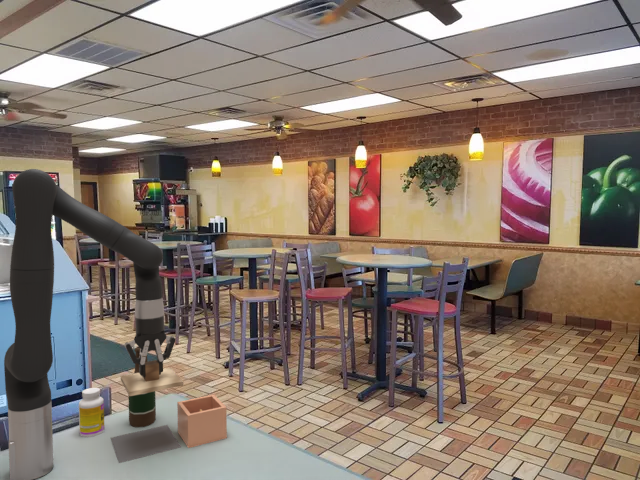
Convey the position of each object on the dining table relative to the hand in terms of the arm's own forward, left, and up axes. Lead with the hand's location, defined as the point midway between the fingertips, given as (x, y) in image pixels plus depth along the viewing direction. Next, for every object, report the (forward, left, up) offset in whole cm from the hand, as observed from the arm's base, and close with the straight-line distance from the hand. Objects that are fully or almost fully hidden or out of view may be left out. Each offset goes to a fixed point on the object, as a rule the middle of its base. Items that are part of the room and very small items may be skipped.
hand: (151, 375), depth 131 cm
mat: (-2, 0, -19) cm, 20 cm away
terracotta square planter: (+13, -4, -19) cm, 24 cm away
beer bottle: (0, +14, -20) cm, 24 cm away
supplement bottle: (-14, +15, -20) cm, 29 cm away
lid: (0, 0, -2) cm, 2 cm away
